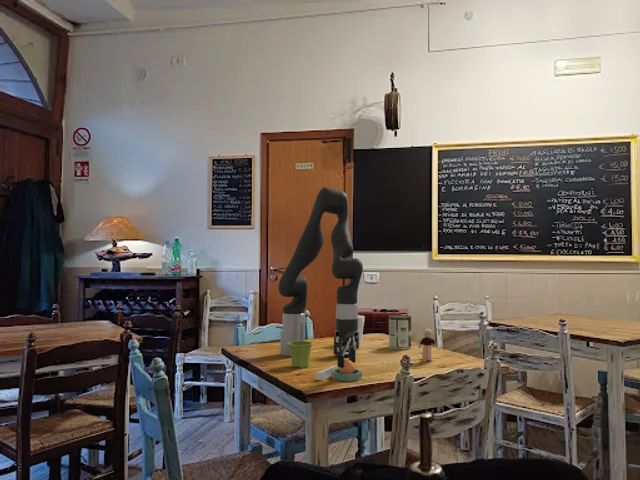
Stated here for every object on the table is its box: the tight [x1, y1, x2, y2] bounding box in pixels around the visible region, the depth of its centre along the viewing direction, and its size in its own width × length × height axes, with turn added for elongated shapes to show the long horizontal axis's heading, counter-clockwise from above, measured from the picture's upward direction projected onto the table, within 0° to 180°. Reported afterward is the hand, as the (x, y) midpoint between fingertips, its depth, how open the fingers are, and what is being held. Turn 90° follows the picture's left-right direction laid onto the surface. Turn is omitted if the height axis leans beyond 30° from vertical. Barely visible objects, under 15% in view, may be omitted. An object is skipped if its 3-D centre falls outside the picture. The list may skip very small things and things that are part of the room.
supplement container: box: [334, 329, 349, 359], centre depth 208 cm, size 7×7×10 cm
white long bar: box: [315, 364, 339, 381], centre depth 176 cm, size 2×19×2 cm, turn 150°
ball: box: [339, 359, 356, 374], centre depth 171 cm, size 5×5×5 cm
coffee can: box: [388, 314, 413, 350], centre depth 228 cm, size 10×10×14 cm
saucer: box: [331, 368, 363, 382], centre depth 171 cm, size 10×10×2 cm
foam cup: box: [356, 314, 365, 346], centre depth 235 cm, size 10×9×13 cm
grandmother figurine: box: [417, 328, 437, 363], centre depth 199 cm, size 8×4×13 cm, turn 118°
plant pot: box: [288, 340, 314, 369], centre depth 189 cm, size 9×9×9 cm
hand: (346, 364), depth 171 cm, fingers open, 8 cm apart
